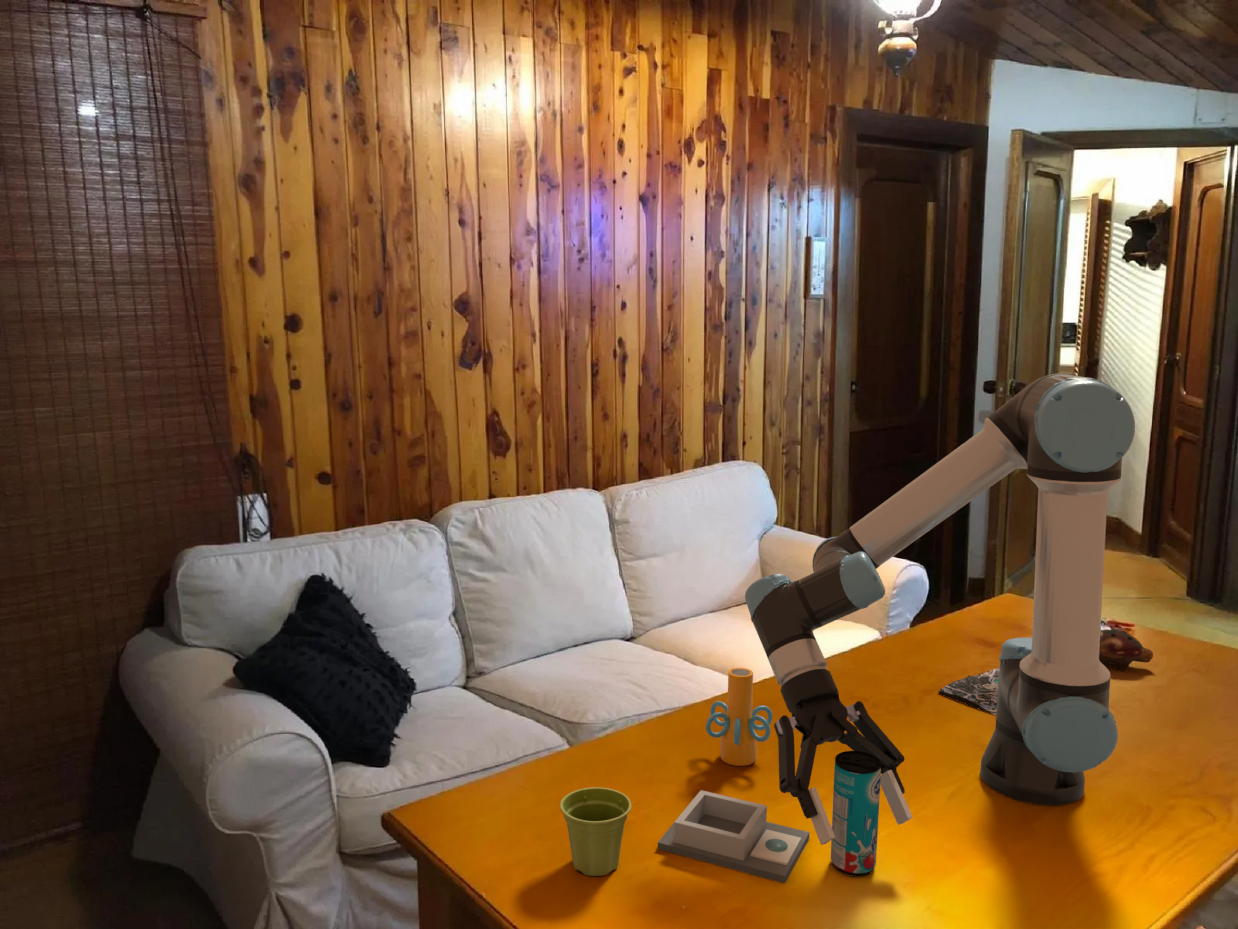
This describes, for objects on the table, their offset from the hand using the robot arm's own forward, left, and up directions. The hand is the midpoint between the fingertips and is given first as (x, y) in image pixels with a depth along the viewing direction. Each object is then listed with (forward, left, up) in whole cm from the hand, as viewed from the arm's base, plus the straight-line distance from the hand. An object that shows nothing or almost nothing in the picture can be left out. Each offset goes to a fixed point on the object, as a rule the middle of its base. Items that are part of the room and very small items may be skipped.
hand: (867, 831), depth 127 cm
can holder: (+18, 0, -6) cm, 19 cm away
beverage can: (+2, -2, -7) cm, 7 cm away
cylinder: (+26, -25, -7) cm, 36 cm away
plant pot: (+33, +13, -7) cm, 36 cm away
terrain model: (-11, -74, -7) cm, 75 cm away
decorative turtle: (-30, -101, -7) cm, 105 cm away
